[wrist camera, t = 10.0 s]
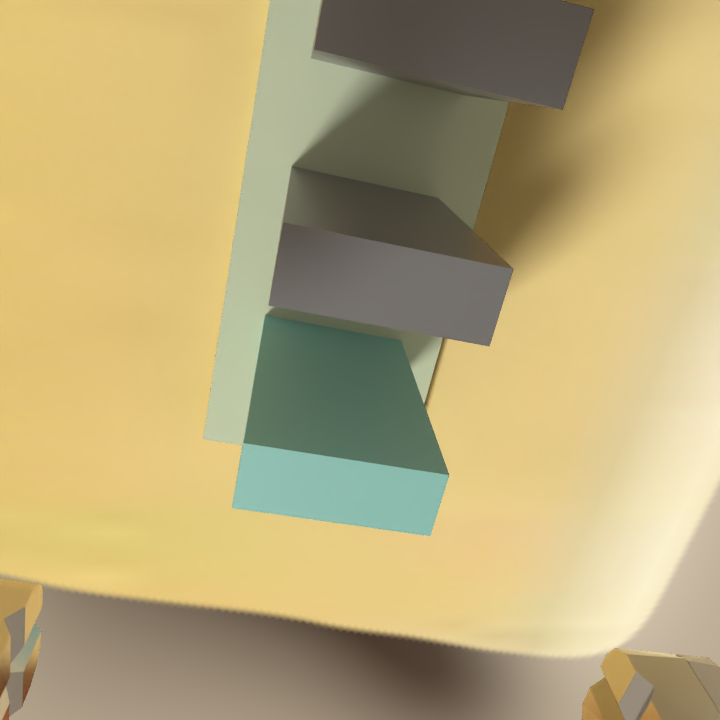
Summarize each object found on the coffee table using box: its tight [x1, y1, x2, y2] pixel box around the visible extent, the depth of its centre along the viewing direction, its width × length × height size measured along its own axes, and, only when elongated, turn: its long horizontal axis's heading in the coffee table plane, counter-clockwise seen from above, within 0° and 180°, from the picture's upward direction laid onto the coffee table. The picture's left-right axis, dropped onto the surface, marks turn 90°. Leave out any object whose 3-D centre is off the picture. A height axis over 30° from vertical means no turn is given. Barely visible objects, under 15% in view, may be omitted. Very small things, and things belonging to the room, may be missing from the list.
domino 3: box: [232, 315, 449, 536], centre depth 18 cm, size 2×4×8 cm, turn 77°
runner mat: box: [203, 0, 509, 445], centre depth 19 cm, size 26×7×1 cm, turn 168°
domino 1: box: [311, 0, 594, 110], centre depth 15 cm, size 2×4×8 cm, turn 78°
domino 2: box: [268, 166, 513, 346], centre depth 17 cm, size 2×4×8 cm, turn 78°
